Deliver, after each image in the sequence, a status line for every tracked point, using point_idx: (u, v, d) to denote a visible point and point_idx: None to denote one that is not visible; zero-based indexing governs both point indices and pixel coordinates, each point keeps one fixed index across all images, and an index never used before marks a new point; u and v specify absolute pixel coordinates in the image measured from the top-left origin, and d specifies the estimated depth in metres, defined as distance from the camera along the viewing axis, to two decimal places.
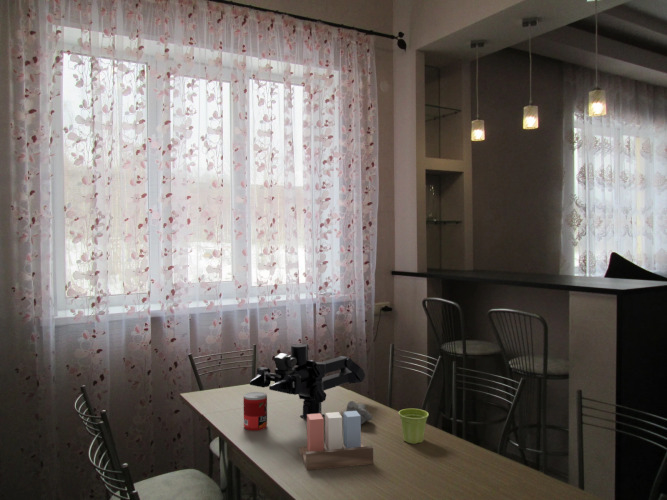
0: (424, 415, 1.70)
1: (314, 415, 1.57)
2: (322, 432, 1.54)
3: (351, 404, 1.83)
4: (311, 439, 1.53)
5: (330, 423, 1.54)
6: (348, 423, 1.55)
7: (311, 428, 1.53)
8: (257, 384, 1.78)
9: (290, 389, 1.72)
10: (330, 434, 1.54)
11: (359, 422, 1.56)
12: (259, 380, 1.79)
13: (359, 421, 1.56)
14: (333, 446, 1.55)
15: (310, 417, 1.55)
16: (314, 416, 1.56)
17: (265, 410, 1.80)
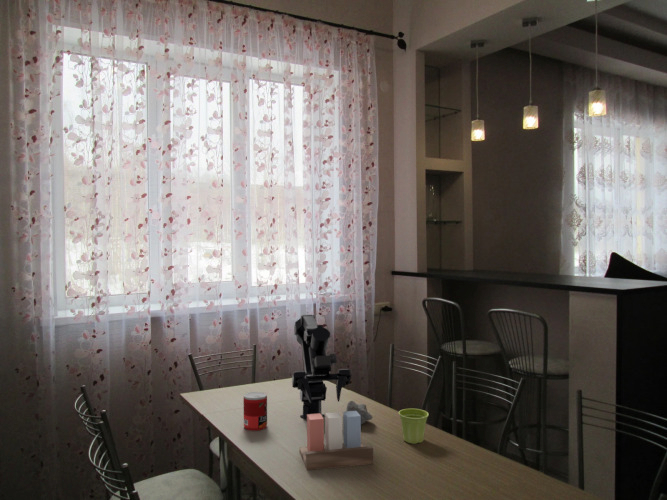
0: (424, 415, 1.70)
1: (314, 415, 1.57)
2: (322, 432, 1.54)
3: (351, 404, 1.83)
4: (311, 439, 1.53)
5: (330, 423, 1.54)
6: (348, 423, 1.55)
7: (311, 428, 1.53)
8: None
9: (344, 384, 1.73)
10: (330, 434, 1.54)
11: (359, 422, 1.56)
12: None
13: (359, 421, 1.56)
14: (333, 446, 1.55)
15: (310, 417, 1.55)
16: (314, 416, 1.56)
17: (265, 410, 1.80)
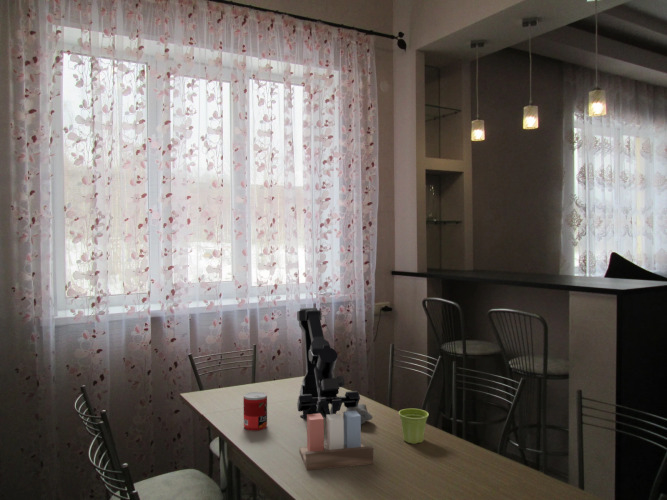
0: (424, 415, 1.70)
1: (314, 415, 1.57)
2: (322, 432, 1.54)
3: None
4: (311, 439, 1.53)
5: (331, 425, 1.53)
6: (348, 423, 1.55)
7: (311, 428, 1.53)
8: None
9: (338, 408, 1.64)
10: (331, 436, 1.53)
11: (359, 422, 1.56)
12: None
13: (359, 421, 1.56)
14: (334, 448, 1.53)
15: (310, 417, 1.55)
16: (314, 416, 1.56)
17: (265, 410, 1.80)
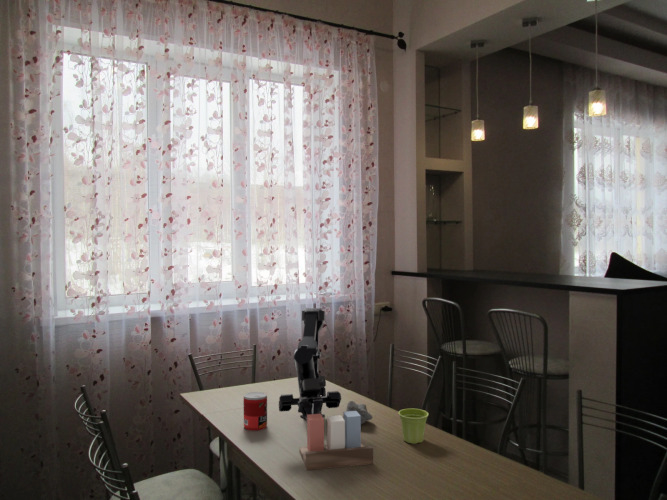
0: (424, 415, 1.70)
1: (314, 415, 1.57)
2: (322, 432, 1.54)
3: (351, 404, 1.83)
4: (311, 439, 1.53)
5: (332, 426, 1.51)
6: (348, 423, 1.55)
7: (311, 428, 1.53)
8: None
9: (320, 408, 1.64)
10: (332, 438, 1.51)
11: (359, 422, 1.56)
12: None
13: (359, 421, 1.56)
14: None
15: (310, 417, 1.55)
16: (314, 417, 1.55)
17: (265, 410, 1.80)
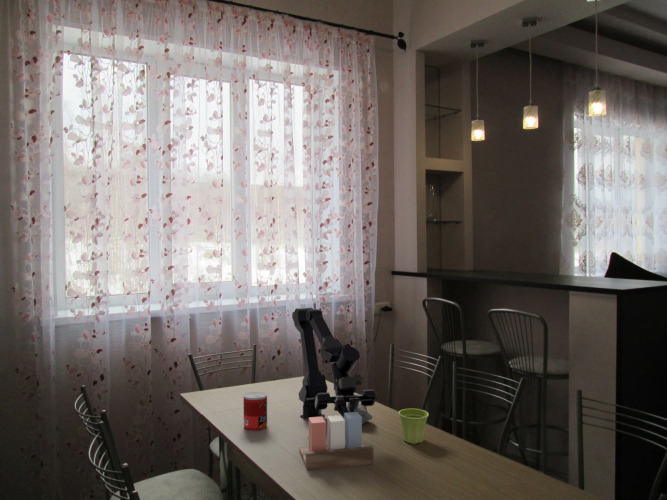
0: (424, 415, 1.70)
1: (316, 418, 1.54)
2: (324, 436, 1.51)
3: None
4: (313, 443, 1.50)
5: (332, 426, 1.51)
6: (349, 424, 1.54)
7: (313, 432, 1.50)
8: None
9: (356, 407, 1.66)
10: (332, 438, 1.51)
11: (360, 423, 1.55)
12: None
13: (360, 422, 1.55)
14: None
15: (312, 420, 1.52)
16: (316, 420, 1.53)
17: (265, 410, 1.80)
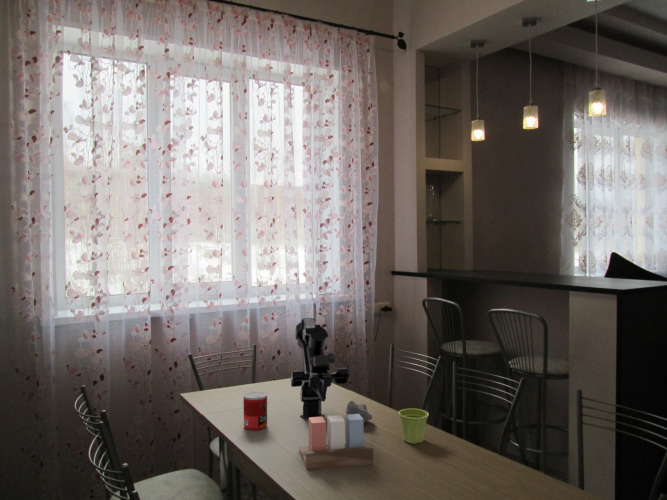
0: (424, 415, 1.70)
1: (316, 418, 1.54)
2: (324, 436, 1.51)
3: (351, 404, 1.83)
4: (313, 443, 1.50)
5: (332, 426, 1.51)
6: (351, 426, 1.53)
7: (313, 432, 1.50)
8: None
9: (329, 384, 1.75)
10: (332, 438, 1.51)
11: (362, 425, 1.53)
12: None
13: (362, 424, 1.53)
14: None
15: (312, 420, 1.52)
16: (316, 420, 1.53)
17: (265, 410, 1.80)
